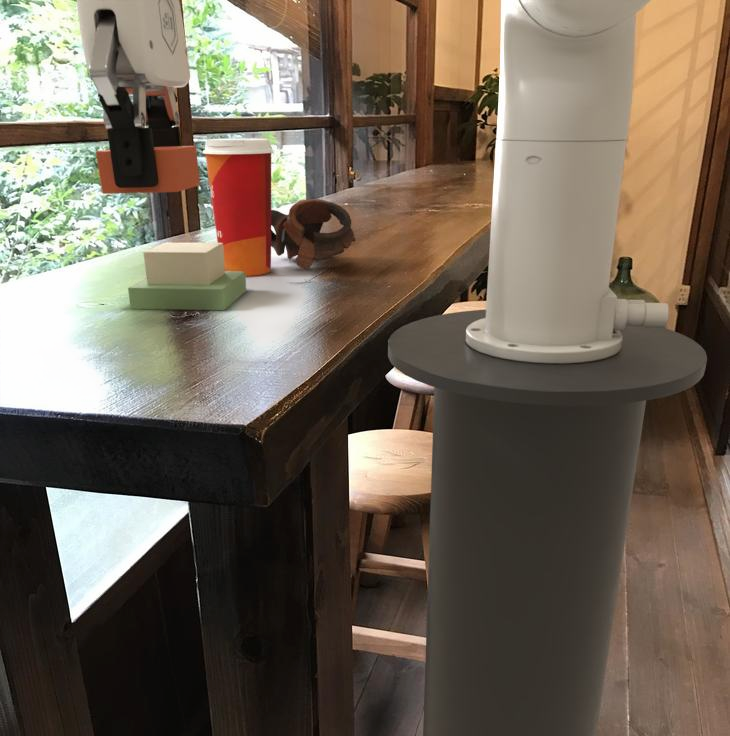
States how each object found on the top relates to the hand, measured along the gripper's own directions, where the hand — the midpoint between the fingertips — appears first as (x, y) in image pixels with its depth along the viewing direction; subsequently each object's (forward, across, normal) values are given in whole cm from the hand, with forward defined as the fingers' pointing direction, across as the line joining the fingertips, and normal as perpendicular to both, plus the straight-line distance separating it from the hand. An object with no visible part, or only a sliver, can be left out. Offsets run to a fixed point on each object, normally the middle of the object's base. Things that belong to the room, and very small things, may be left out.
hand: (152, 180), depth 64 cm
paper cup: (+12, +27, 0) cm, 29 cm away
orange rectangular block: (+1, 0, 0) cm, 1 cm away
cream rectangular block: (+10, +12, +2) cm, 15 cm away
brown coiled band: (+12, +33, -6) cm, 35 cm away
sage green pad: (+12, +12, +2) cm, 17 cm away
